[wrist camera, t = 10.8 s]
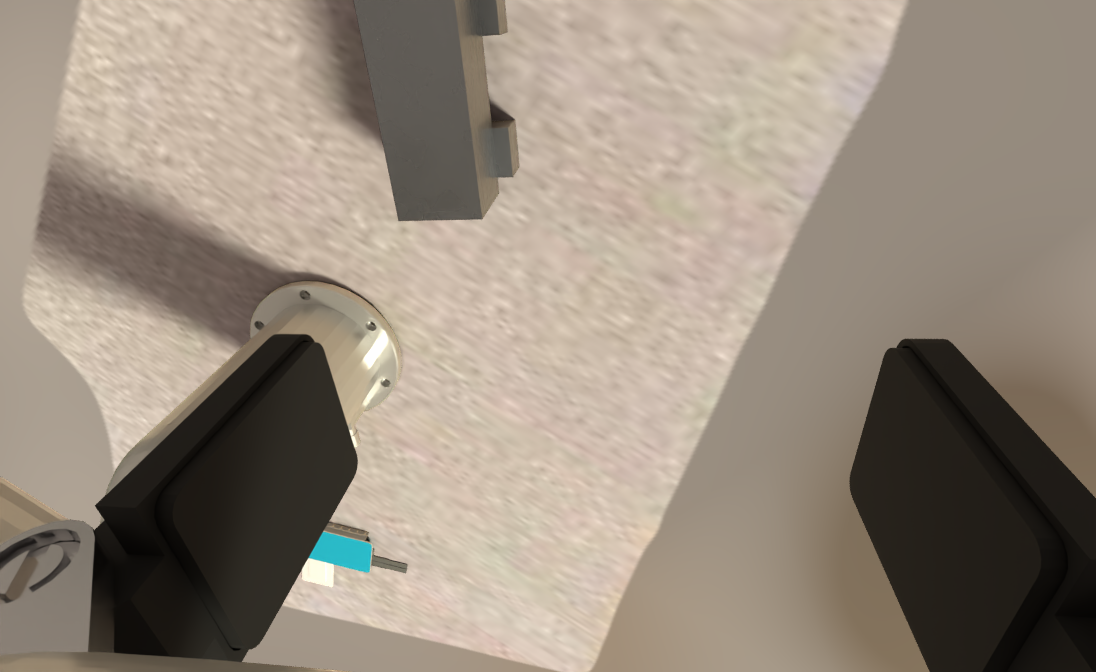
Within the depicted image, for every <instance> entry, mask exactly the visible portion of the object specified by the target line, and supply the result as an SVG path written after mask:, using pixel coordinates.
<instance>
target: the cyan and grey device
mask: <svg viewBox="0 0 1096 672" xmlns="http://www.w3.org/2000/svg"><path fill="white" fill-rule="evenodd" d="M368 534H369V532H367V531H366V532H365V531H361V530H359V529H358V530H357V529H353V528H351V527H350V528H349V527H345V526H343V525H342V526H341V525H337V524H335V523H334V524H333V523H329V522H328V524H327V526H326V528H325V529H324V531H323V533H322V535H321V537H320V538H319V540H318V542H317V544H316V545H315V547H314V549H313V551H312V552H311V554H310V556H309V558H308V560H307V561H306V563H305V565H304V567H303V568H302V580H305V581H309V582H313V583H317V584H321V585H325V586H329V587H333V574H334V565H338V566H342V567H346V568H350V569H354V570H358V571H362V572H366V573H368V572H370V570H371V565H373V566H377V567H381V568H385V569H391V570H395V571H399V572H403V573H406V571H407V565H406V564H402V563H398V562H394V561H390V560H388V559H386V558H382V557H378V556H374V549H373V548H372V547H373V545H372V544H371V543H370V542H369V539H367V541H365V540H366V538H367V537H368ZM388 564H389V565H388ZM391 565H393V566H391ZM395 566H397V567H395ZM399 567H401V568H399ZM403 568H405V569H403Z"/></svg>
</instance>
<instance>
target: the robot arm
mask: <svg viewBox="0 0 1096 672" xmlns="http://www.w3.org/2000/svg"><path fill="white" fill-rule="evenodd" d="M401 368H402V363H401V352H400V348H399V344H398V341H397V339H396V337H395V335H394V332H393V330H392V329H391V328H390V326H389V325H388V323H387V322H386V320H385V319H384V318H383V317H382V316H381V315H380V313H379V312H378V311H377V310H376V309H375V308H374V307H372V306H371V305H370V304H369V303H367V302H366V301H365V300H364V299H362V298H361V297H359V296H357V295H355V294H354V293H352V292H350V291H348V290H346V289H343V288H341V287H338V286H335V285H332V284H328V283H323V282H317V281H301V282H294V283H289V284H287V285H284V286H282V287H279V288H277V289H276V290H275V291H273V292H272V293H270V294H269V295H268V296H267V297H266V298H265V299H264V300H262V301H261V302H260V303H259V305H258V306H257V308H256V310H255V311H254V313H253V316H252V319H251V323H250V340H249V341H248V342H247V343H246V344H245V345H244V346H243V347H242V348H241V349H239V350H238V351H237V352H236V353H235V354H234V355H233V356H232V357H231V358H230V359H229V360H227V361H226V362H225V363H224V364H223V365H222V366H221V367H220V368H219V369H218V370H217V371H216V372H214V373H213V374H212V375H211V376H210V377H209V378H208V379H207V380H206V381H205V382H204V383H202V384H201V385H200V386H199V387H198V388H197V389H196V390H195V391H194V392H193V393H192V394H190V395H189V396H188V397H187V398H186V399H185V400H184V401H183V402H182V403H181V404H180V405H179V406H177V407H176V408H175V409H174V410H173V411H172V412H171V413H170V414H169V415H168V416H167V417H165V418H164V419H163V420H162V421H161V422H160V423H159V424H158V425H157V426H156V427H155V428H153V429H152V430H151V431H150V432H149V433H148V434H147V435H146V436H145V437H144V438H143V439H141V440H140V441H139V442H138V443H137V444H136V445H135V446H134V447H133V448H132V449H131V450H130V451H129V452H128V453H127V455H126V456H125V457H124V458H123V460H122V461H121V463H120V464H119V466H118V467H117V469H116V470H115V472H114V474H113V477H112V479H111V481H110V483H109V485H108V488H107V492H106V495H105V497H103V498H102V499H101V500H100V501H99V502H98V503H97V504H96V505H95V506H96V508H97V510H98V511H99V513H100V514H101V520H100V525H99V526H98V527H97V528H96V529H95V530H94V529H93V528H92V527H91V526H89V525H88V524H87V523H85V522H84V521H77V520H69V519H67V518H65V517H64V516H62V515H61V514H59V513H57V512H56V511H54V510H53V509H51V508H49V507H48V506H46V505H45V504H43V503H42V502H40V501H39V500H37V499H35V498H34V497H32V496H31V495H29V494H28V493H26V492H24V491H23V490H21V489H20V488H18V487H17V486H15V485H13V484H12V483H10V482H9V481H7V480H5V479H4V478H2V477H0V672H350V671H338V670H326V669H315V668H304V667H292V666H281V665H269V664H257V663H245V662H242V660H243V658H244V657H245V655H246V653H247V652H248V650H249V649H253V648H255V647H256V646H257V645H258V644H259V643H260V642H261V640H262V639H263V637H264V636H265V634H266V632H267V630H268V629H269V627H270V625H271V623H272V621H273V620H274V618H275V616H276V614H277V613H278V611H279V609H280V607H281V606H282V604H283V602H284V600H285V598H286V597H287V595H288V593H289V591H290V590H291V588H292V586H293V584H294V583H295V581H296V579H297V577H298V575H299V574H300V572H301V570H302V568H303V567H304V565H305V563H306V561H307V560H308V558H309V556H310V554H311V552H312V551H313V549H314V547H315V545H316V544H317V542H318V540H319V538H320V537H321V535H322V533H323V531H324V529H325V528H326V526H327V524H328V522H329V521H330V519H331V517H332V515H333V513H334V512H335V510H336V508H337V506H338V505H339V503H340V501H341V499H342V498H343V496H344V494H345V492H346V490H347V489H348V487H349V485H350V483H351V482H352V480H353V478H354V476H355V474H356V470H357V464H358V460H357V454H356V451H355V447H357V446H358V445H359V444H360V442H361V441H360V437H359V434H358V431H357V429H356V427H355V424H356V423H357V421H358V419H359V418H360V416H361V415H362V413H363V412H364V411H368V410H370V409H372V408H374V407H376V406H378V405H380V404H381V403H382V402H383V401H384V400H386V399H387V398H388V396H389V395H390V394H391V392H392V391H393V389H394V387H395V385H396V383H397V382H398V380H399V377H400V372H401ZM850 491H851V495H852V498H853V500H854V503H855V505H856V507H857V509H858V512H859V514H860V516H861V518H862V521H863V523H864V525H865V527H866V530H867V532H868V534H869V536H870V539H871V541H872V543H873V545H874V548H875V550H876V552H877V554H878V556H879V559H880V561H881V563H882V566H883V568H884V570H885V572H886V574H887V577H888V579H889V581H890V584H891V586H892V588H893V590H894V592H895V595H896V597H897V599H898V602H899V604H900V606H901V608H902V611H903V613H904V615H905V617H906V620H907V622H908V624H909V626H910V629H911V631H912V633H913V635H914V638H915V640H916V642H917V644H918V646H919V649H920V651H921V653H922V656H923V658H924V660H925V662H926V665H927V667H928V669H929V671H930V672H1096V498H1095V497H1094V496H1093V495H1092V494H1091V493H1090V492H1089V490H1087V488H1086V487H1085V486H1084V485H1083V484H1082V483H1081V482H1080V481H1079V480H1078V479H1077V478H1076V476H1075V475H1074V474H1073V473H1072V472H1071V471H1070V470H1069V469H1068V468H1067V467H1066V466H1065V465H1064V464H1063V463H1062V461H1060V459H1059V458H1058V457H1057V456H1056V455H1055V454H1054V453H1053V452H1052V451H1051V449H1050V448H1049V447H1048V446H1047V445H1046V444H1045V443H1044V442H1043V441H1042V440H1041V439H1040V438H1039V437H1038V435H1037V434H1036V433H1035V432H1034V431H1033V430H1032V429H1031V428H1030V427H1029V426H1028V425H1027V424H1026V423H1025V422H1024V420H1023V419H1022V418H1021V417H1020V416H1019V415H1018V414H1017V413H1016V412H1015V411H1014V410H1013V408H1012V407H1011V406H1010V405H1009V404H1008V403H1007V402H1006V401H1005V400H1004V399H1003V398H1002V397H1001V395H1000V394H998V392H997V391H996V390H995V389H994V388H993V387H992V386H991V385H990V384H989V382H987V380H986V379H985V378H984V377H983V376H982V375H981V374H980V373H979V372H978V371H977V370H976V369H975V367H974V366H973V365H972V364H971V363H970V362H969V361H968V360H967V359H966V358H965V357H964V355H963V354H962V353H961V352H960V351H959V350H958V349H957V348H956V347H955V346H954V345H953V344H952V343H951V342H950V341H948V340H946V339H904V340H902V341H901V342H900V343H899V344H898V346H897V348H890V349H888V350H887V351H886V353H885V355H884V358H883V361H882V365H881V368H880V372H879V375H878V379H877V382H876V386H875V389H874V393H873V397H872V400H871V403H870V407H869V410H868V414H867V417H866V421H865V424H864V428H863V431H862V435H861V438H860V442H859V445H858V449H857V452H856V456H855V460H854V463H853V467H852V470H851V475H850Z"/></svg>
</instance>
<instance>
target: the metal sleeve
mask: <svg viewBox="0 0 1096 672" xmlns="http://www.w3.org/2000/svg"><path fill="white" fill-rule="evenodd" d="M354 5H355V10H356V15H357V20H358V25H359V29H360V34H361V39H362V44H363V49H364V54H365V59H366V64H367V69H368V74H369V78H370V83H371V88H372V93H373V98H374V103H375V108H376V113H377V118H378V123H379V127H380V132H381V137H382V142H383V147H384V152H385V157H386V162H387V167H388V172H389V176H390V181H391V186H392V191H393V196H394V201H395V206H396V211H397V216H398V221H421V220H470V219H483V217H484V216H485V214H486V213H487V211H488V210H489V208H490V206H491V205H492V203H493V202H494V200H495V199H496V197H497V196H498V194H499V187H498V177H513V176H514V174H515V173H516V171H517V170H518V168H519V158H518V146H517V135H516V124H515V120H499V121H491V113H490V104H489V94H488V85H487V76H486V66H485V57H484V48H483V38H482V36H488V35H500V34H503V33H506V32H507V20H506V9H505V0H354Z"/></svg>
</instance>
